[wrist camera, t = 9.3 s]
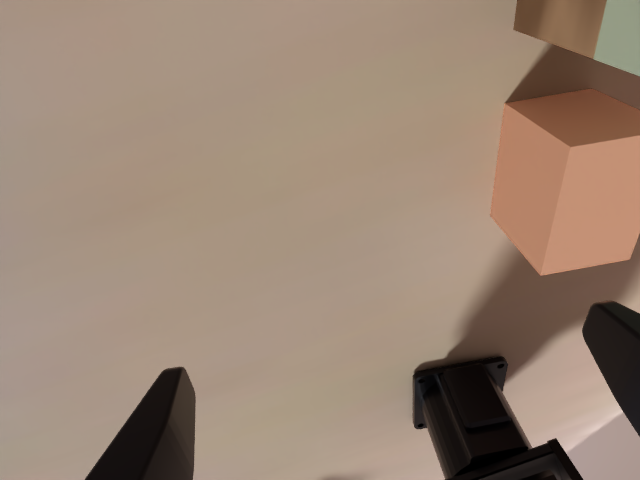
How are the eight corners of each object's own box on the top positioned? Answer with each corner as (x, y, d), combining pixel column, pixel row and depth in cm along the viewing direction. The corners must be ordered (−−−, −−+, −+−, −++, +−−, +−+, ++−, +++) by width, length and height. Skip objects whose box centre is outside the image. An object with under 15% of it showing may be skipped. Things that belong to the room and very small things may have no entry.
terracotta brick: (562, 202, 23) (629, 259, 19) (489, 215, 23) (540, 275, 19) (590, 87, 19) (680, 128, 15) (503, 102, 19) (570, 147, 15)
